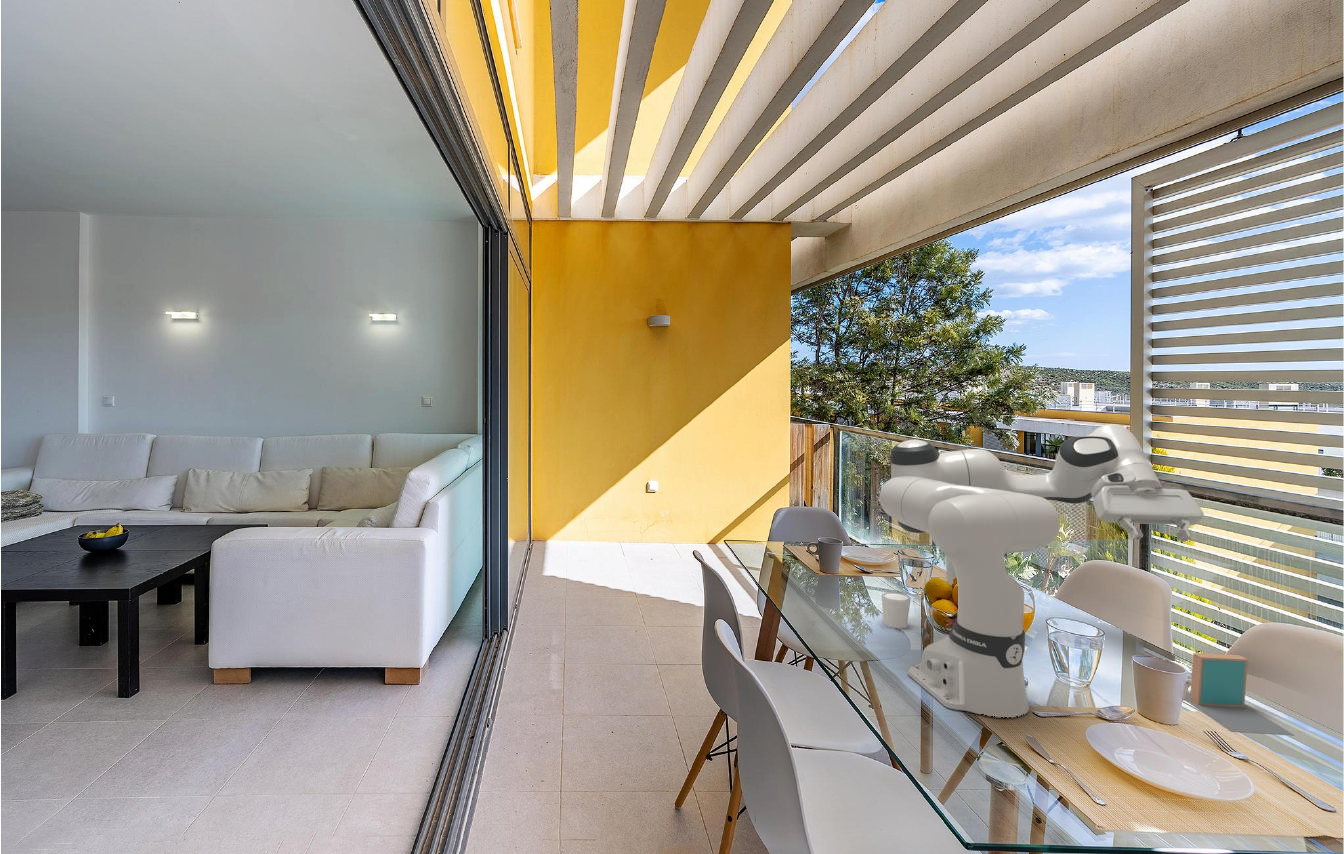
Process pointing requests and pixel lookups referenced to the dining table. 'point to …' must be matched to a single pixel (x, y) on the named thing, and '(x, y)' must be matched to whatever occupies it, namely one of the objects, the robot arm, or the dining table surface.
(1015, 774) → the dining table surface
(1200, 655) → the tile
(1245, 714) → the mat
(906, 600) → the white cylinder
